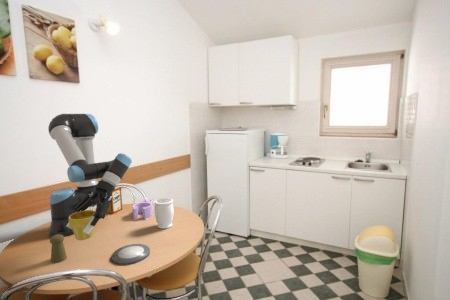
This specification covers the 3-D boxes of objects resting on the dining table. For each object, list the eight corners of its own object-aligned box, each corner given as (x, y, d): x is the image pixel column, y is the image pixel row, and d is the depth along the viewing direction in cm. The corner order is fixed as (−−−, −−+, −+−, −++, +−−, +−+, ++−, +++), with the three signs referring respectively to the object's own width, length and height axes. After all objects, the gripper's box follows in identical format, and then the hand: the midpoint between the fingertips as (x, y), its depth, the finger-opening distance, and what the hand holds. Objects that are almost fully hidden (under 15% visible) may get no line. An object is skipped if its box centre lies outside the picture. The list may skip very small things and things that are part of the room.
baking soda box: (112, 214, 170) (110, 190, 168) (104, 213, 172) (102, 189, 170) (122, 209, 179) (120, 186, 177) (114, 208, 180) (112, 186, 179)
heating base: (104, 259, 114) (103, 256, 114) (132, 243, 128) (132, 240, 128) (130, 268, 107) (129, 265, 106) (157, 250, 121) (157, 247, 121)
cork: (69, 255, 118) (67, 232, 116) (61, 262, 112) (59, 238, 110) (56, 256, 117) (53, 232, 116) (47, 263, 111) (45, 238, 110)
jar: (166, 221, 157) (165, 196, 155) (178, 225, 150) (177, 199, 148) (151, 226, 148) (150, 201, 147) (163, 231, 142) (161, 204, 140)
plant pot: (86, 243, 103) (84, 220, 102) (64, 241, 105) (62, 218, 104) (103, 232, 113) (102, 210, 112) (83, 230, 115) (81, 209, 114)
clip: (139, 209, 179) (139, 199, 179) (157, 208, 179) (157, 199, 179) (129, 220, 160) (128, 209, 159) (149, 219, 160) (149, 208, 159)
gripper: (130, 191, 115) (102, 239, 103) (97, 185, 126) (67, 228, 114) (120, 182, 110) (88, 232, 98) (85, 176, 120) (53, 221, 108)
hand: (77, 230), depth 106 cm, fingers closed on plant pot, 10 cm apart
